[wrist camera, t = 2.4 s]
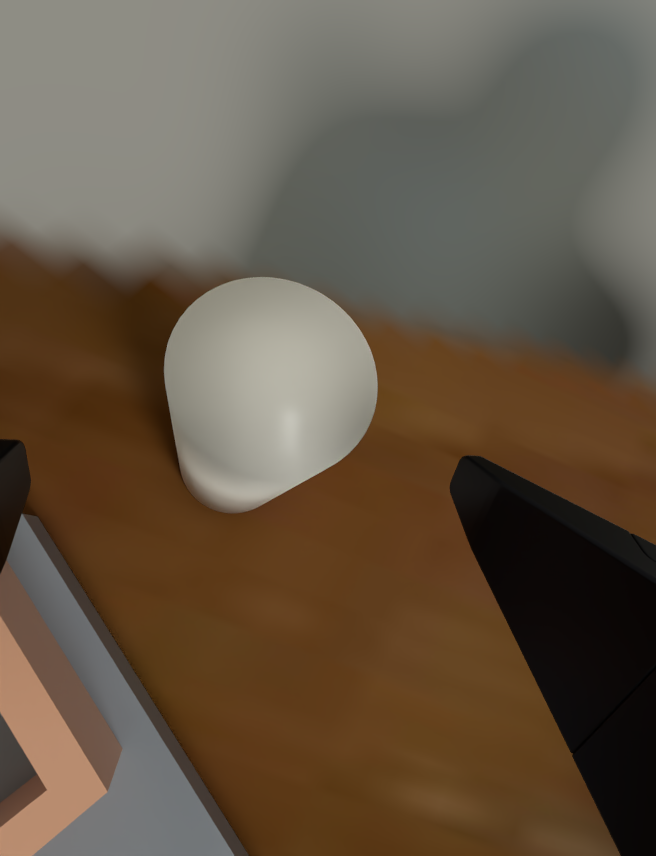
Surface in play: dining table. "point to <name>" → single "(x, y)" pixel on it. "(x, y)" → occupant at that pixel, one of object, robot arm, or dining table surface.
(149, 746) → the candle stand
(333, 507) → the dining table surface
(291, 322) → the candle
